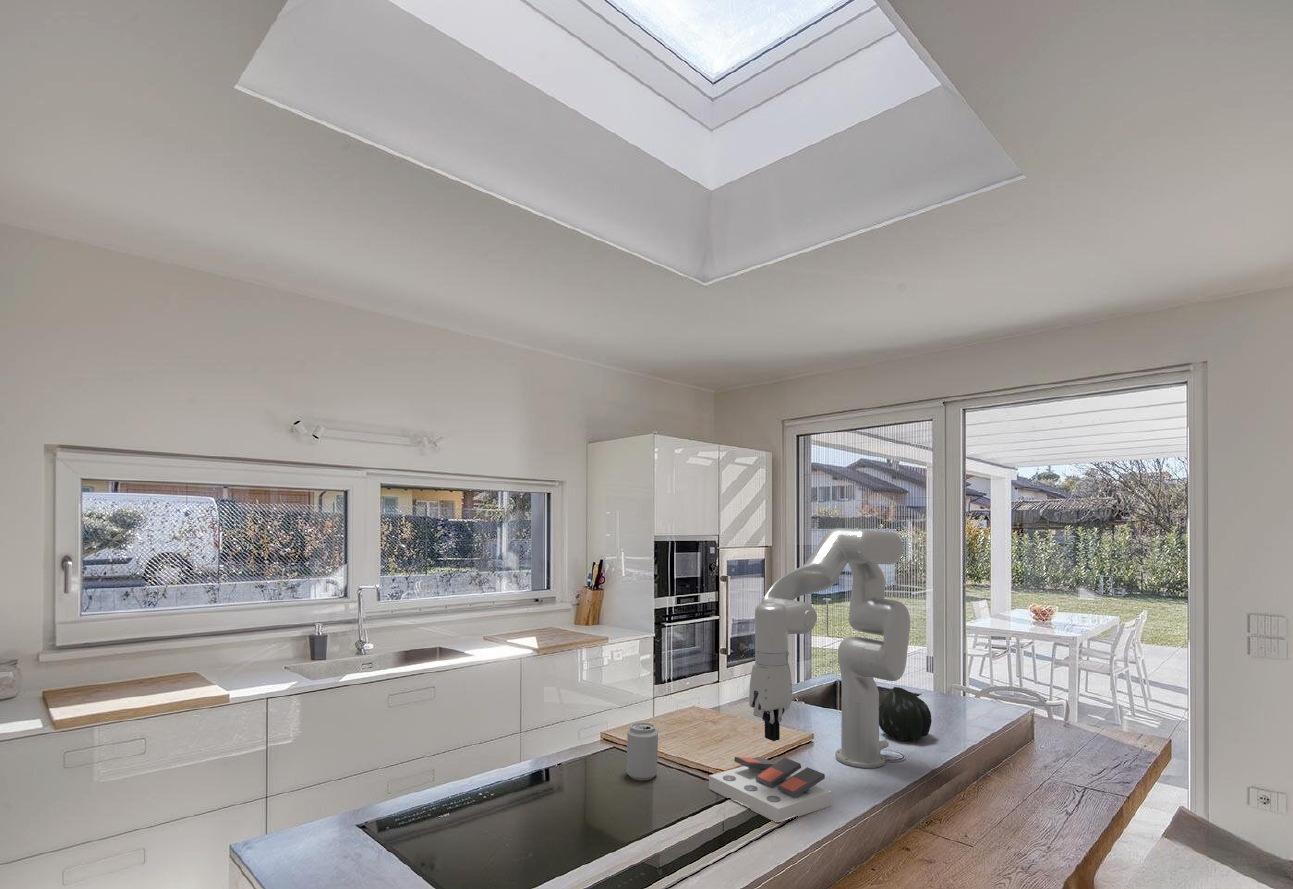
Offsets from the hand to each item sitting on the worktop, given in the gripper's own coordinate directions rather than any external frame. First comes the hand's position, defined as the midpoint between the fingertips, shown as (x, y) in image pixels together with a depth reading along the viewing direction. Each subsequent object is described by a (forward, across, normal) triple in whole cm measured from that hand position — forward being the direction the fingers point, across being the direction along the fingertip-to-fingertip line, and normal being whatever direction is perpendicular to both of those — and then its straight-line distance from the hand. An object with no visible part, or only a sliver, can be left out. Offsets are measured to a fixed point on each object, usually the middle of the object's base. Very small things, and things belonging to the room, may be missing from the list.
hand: (772, 738), depth 169 cm
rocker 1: (+8, -2, -7) cm, 10 cm away
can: (+12, +18, -26) cm, 34 cm away
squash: (+15, -63, -9) cm, 66 cm away
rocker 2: (+8, -2, +7) cm, 11 cm away
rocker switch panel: (+13, +2, 0) cm, 13 cm away
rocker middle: (+8, -2, 0) cm, 8 cm away
